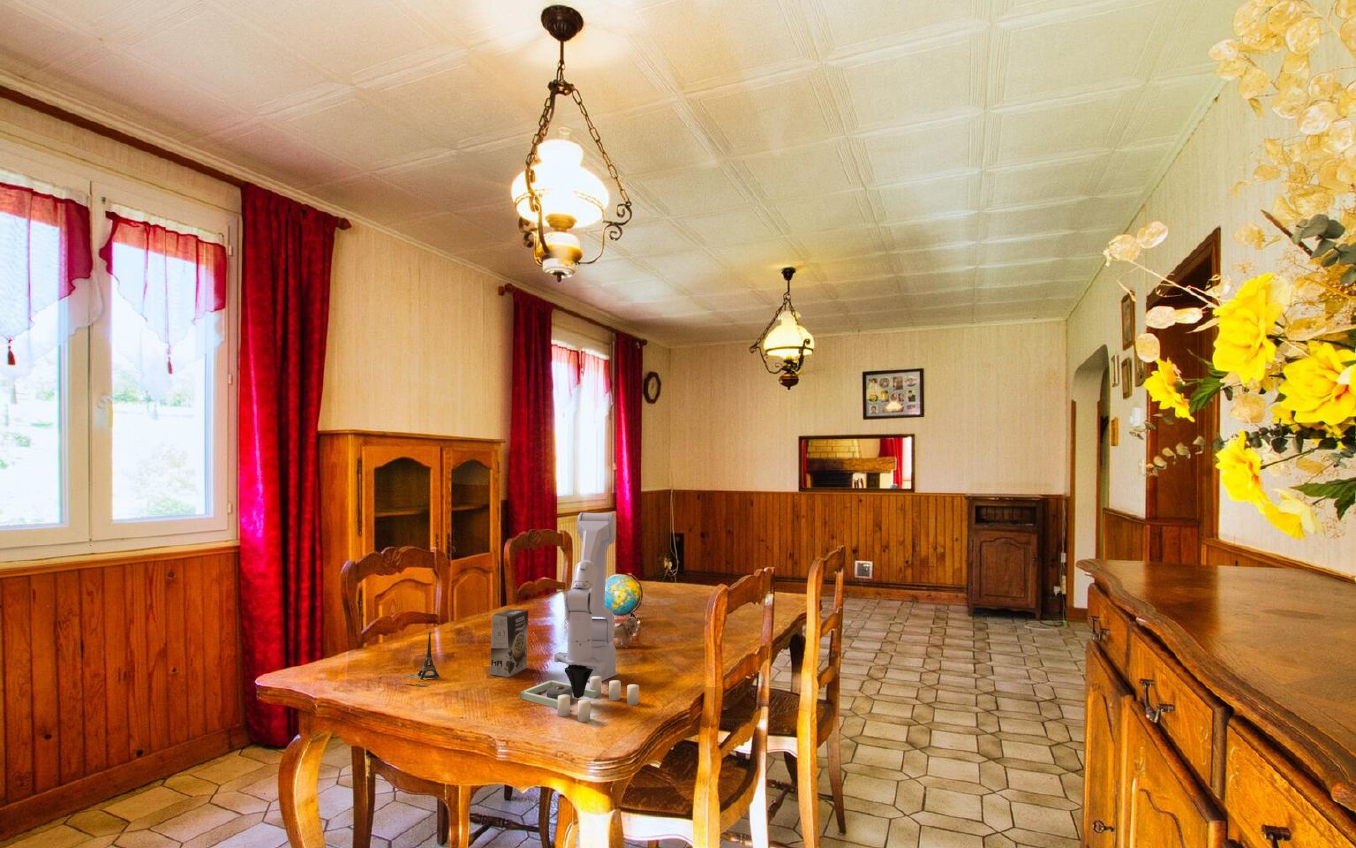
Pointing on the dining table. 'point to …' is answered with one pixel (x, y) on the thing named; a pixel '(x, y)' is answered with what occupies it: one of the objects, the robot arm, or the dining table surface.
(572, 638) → the robot arm
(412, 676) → the eiffel tower figurine
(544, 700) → the frame
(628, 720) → the dining table surface
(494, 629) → the coffee box
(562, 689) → the push button box
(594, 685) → the posts
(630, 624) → the lion figurine
